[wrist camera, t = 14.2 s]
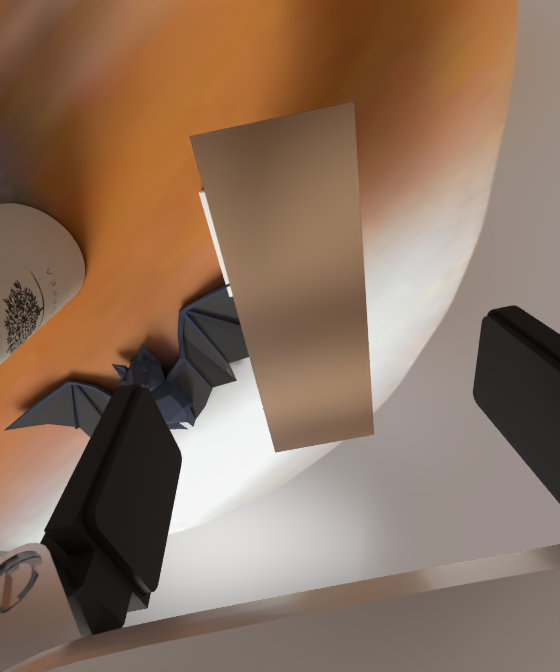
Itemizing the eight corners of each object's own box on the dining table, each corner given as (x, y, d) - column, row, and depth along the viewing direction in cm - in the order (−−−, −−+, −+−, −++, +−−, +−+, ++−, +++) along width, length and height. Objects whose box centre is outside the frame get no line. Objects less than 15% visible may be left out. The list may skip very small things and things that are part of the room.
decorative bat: (69, 505, 35) (-17, 441, 31) (88, 472, 39) (14, 412, 35) (329, 367, 29) (262, 266, 25) (322, 344, 32) (263, 253, 29)
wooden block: (209, 135, 16) (189, 136, 10) (319, 112, 16) (354, 101, 10) (269, 379, 23) (275, 452, 18) (345, 365, 23) (373, 434, 17)
